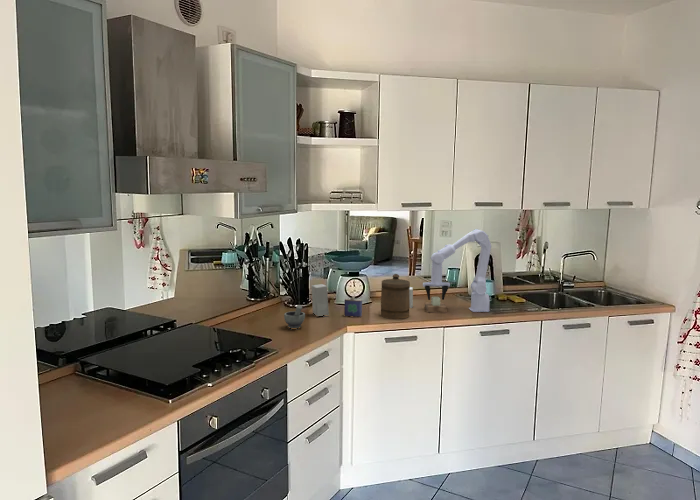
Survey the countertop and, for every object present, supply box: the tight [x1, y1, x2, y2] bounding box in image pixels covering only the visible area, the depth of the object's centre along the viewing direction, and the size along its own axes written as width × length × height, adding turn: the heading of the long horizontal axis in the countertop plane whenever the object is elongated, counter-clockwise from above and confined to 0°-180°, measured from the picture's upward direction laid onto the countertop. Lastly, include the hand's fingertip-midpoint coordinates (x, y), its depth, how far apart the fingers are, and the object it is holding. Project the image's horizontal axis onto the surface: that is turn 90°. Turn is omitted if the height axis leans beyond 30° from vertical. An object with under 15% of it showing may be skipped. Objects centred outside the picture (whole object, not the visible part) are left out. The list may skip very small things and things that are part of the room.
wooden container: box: [380, 273, 411, 320], centre depth 280 cm, size 15×15×22 cm
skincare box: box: [311, 283, 330, 317], centre depth 279 cm, size 8×7×16 cm
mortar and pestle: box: [283, 304, 306, 328], centre depth 255 cm, size 11×9×12 cm
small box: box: [409, 286, 414, 309], centre depth 301 cm, size 8×6×10 cm
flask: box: [343, 295, 363, 318], centre depth 278 cm, size 9×3×11 cm, turn 78°
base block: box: [424, 302, 448, 313], centre depth 293 cm, size 10×10×3 cm
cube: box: [430, 296, 441, 306], centre depth 293 cm, size 4×4×4 cm
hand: (435, 299), depth 293 cm, fingers open, 7 cm apart
